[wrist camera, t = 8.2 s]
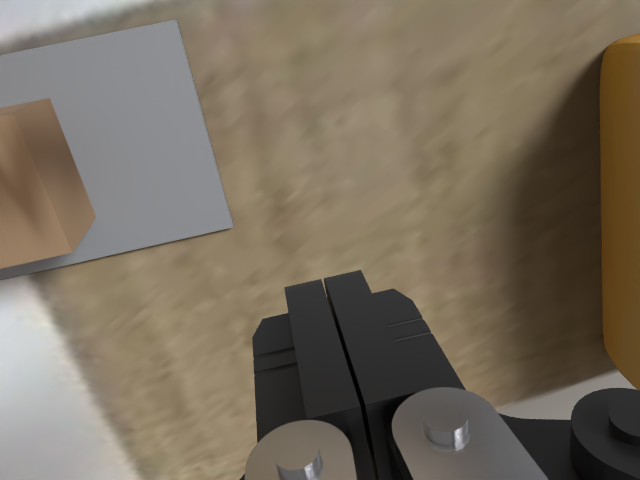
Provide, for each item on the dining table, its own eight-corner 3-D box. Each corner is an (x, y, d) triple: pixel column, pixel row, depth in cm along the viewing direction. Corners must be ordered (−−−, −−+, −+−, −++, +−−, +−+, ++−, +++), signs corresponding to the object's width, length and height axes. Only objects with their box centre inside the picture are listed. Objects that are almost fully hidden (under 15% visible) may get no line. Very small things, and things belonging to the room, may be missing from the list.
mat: (-256, 106, 26) (-263, 108, 26) (176, 19, 28) (175, 19, 27) (-129, 307, 31) (-133, 310, 31) (233, 224, 33) (233, 227, 32)
